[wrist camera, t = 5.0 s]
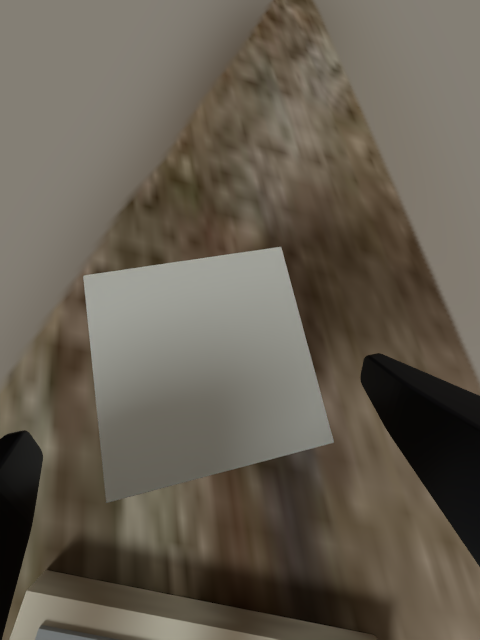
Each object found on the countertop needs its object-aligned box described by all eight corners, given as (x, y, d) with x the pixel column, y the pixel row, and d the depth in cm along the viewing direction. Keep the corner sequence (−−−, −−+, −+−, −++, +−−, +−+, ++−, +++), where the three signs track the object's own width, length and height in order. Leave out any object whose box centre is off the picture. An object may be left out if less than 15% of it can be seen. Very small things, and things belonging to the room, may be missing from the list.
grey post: (258, 415, 16) (333, 442, 7) (167, 436, 16) (106, 502, 6) (239, 328, 17) (281, 246, 8) (153, 344, 17) (83, 275, 7)
